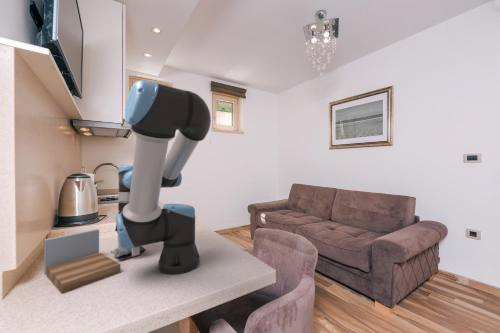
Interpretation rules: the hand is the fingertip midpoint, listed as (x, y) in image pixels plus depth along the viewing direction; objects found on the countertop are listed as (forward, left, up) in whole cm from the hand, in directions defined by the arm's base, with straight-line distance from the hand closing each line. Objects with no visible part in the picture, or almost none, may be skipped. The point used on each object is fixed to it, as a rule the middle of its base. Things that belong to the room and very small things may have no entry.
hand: (128, 251), depth 91 cm
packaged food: (-1, 0, -2) cm, 2 cm away
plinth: (-5, +17, -2) cm, 18 cm away
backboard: (+6, +17, -2) cm, 18 cm away
